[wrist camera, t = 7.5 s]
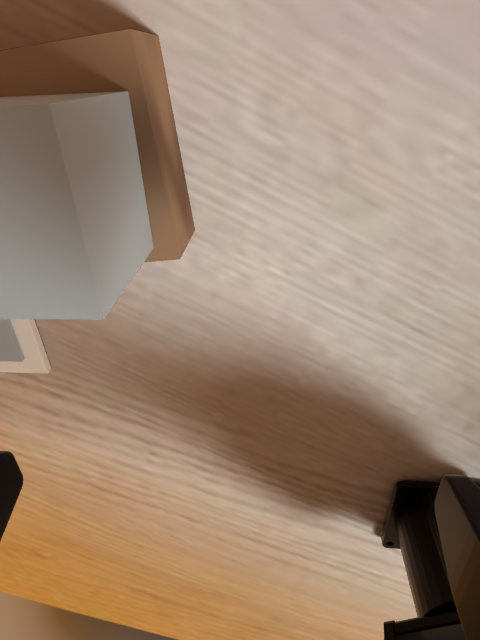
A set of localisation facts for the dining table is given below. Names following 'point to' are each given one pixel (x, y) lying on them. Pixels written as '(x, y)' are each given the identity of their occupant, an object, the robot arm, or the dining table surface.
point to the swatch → (22, 347)
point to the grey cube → (69, 205)
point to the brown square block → (146, 105)
